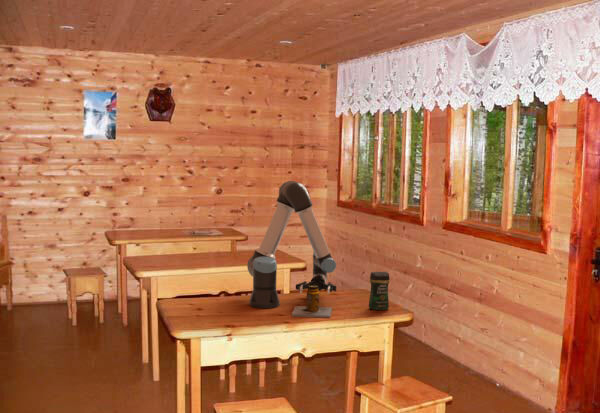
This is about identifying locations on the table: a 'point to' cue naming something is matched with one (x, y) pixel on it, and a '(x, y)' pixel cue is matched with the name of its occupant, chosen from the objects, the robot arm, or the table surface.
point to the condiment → (312, 300)
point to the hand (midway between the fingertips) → (314, 291)
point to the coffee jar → (379, 291)
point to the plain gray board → (323, 314)
